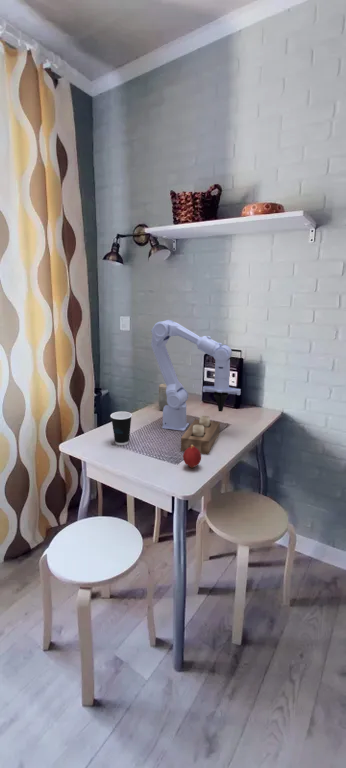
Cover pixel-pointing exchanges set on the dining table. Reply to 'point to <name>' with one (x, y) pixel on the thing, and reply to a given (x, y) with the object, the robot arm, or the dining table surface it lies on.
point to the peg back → (204, 421)
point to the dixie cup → (121, 427)
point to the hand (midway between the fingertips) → (220, 410)
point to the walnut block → (204, 442)
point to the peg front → (198, 430)
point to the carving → (162, 396)
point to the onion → (192, 456)
